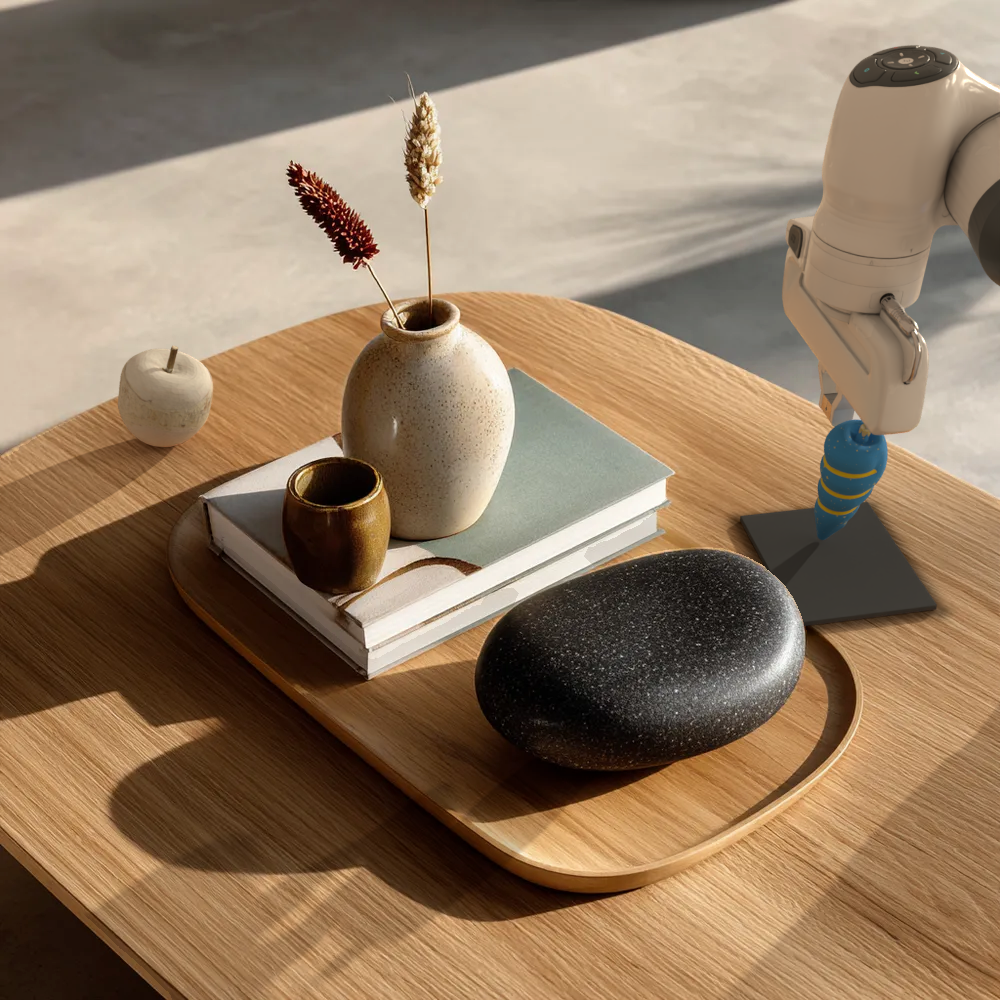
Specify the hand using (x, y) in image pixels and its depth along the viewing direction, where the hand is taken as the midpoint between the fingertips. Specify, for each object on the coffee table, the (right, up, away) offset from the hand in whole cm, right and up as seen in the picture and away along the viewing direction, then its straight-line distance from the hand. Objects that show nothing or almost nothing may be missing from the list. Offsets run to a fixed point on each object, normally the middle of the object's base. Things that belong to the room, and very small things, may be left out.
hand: (834, 416), depth 110 cm
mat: (+1, -12, +3) cm, 13 cm away
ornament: (0, -10, +5) cm, 11 cm away
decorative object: (-59, -1, +16) cm, 61 cm away
